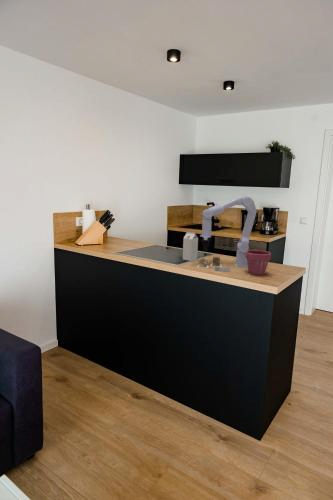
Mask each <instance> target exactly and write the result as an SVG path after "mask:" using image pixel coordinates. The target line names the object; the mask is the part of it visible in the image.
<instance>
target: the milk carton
mask: <svg viewBox="0 0 333 500" xmlns="http://www.w3.org/2000/svg"><path fill="white" fill-rule="evenodd" d="M198 246H199V237H198V236H197V234H196V232H192V231H186V233H185V235H184V236H183V242H182V260H185V261H189V262H192V261H193V262H194V261H196V260H198V248H199V247H198Z"/></svg>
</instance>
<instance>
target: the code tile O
mask: <svg viewBox="0 0 333 500" xmlns="http://www.w3.org/2000/svg"><path fill="white" fill-rule="evenodd" d="M209 265H210V264H209ZM209 265H208V264H207V267H199V264H197V266H196V268H202V269H203V268H204V269H209V267H210V266H209Z"/></svg>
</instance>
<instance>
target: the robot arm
mask: <svg viewBox="0 0 333 500" xmlns="http://www.w3.org/2000/svg"><path fill="white" fill-rule="evenodd" d="M235 206H243V207H244V208H245V210H246V211H247V215H246V218H245V222H244V226H243V229H242V234H241V237H240V239H239V241H238V242H237V244H236V247H237V248H236V249H237V250H236V257H235V258H236V259H235V263H234V265H235V267H241V268H243V267H244V268H248V264H247V258H246V257H245V255H246V251H248V250H250V246H249V243H250V236H251V233H252V229H253V225H254V223H255V219H256V217H257V216H256V215H257V207H256V204H255V201H254V199H253V198H252V197H251V196H248V195H244V196H241V197H236V198H235V199H233V200H231V201H228V202H226V203H224V204H220V203H216V204H215V205H214V206H211V207H208V209H207V208H206V209H204V210H203V211H202V216H203V217H202V223H201V225H202V226H201V227H202V228H201V230H202V231H201V234H200V235H199V237H202V239H201V243H202V248H203V251H205V252H208V249H209V245H210V242H211V239H212V217H215V216H217V215H221V214H223V213H224V211H225V210H227V209H229V208H232V207H235Z"/></svg>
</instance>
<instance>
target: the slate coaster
mask: <svg viewBox="0 0 333 500" xmlns="http://www.w3.org/2000/svg"><path fill="white" fill-rule="evenodd" d="M214 271H215V272H224V273H226V272H227V273H230V272H231V268H230V267H214Z"/></svg>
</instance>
